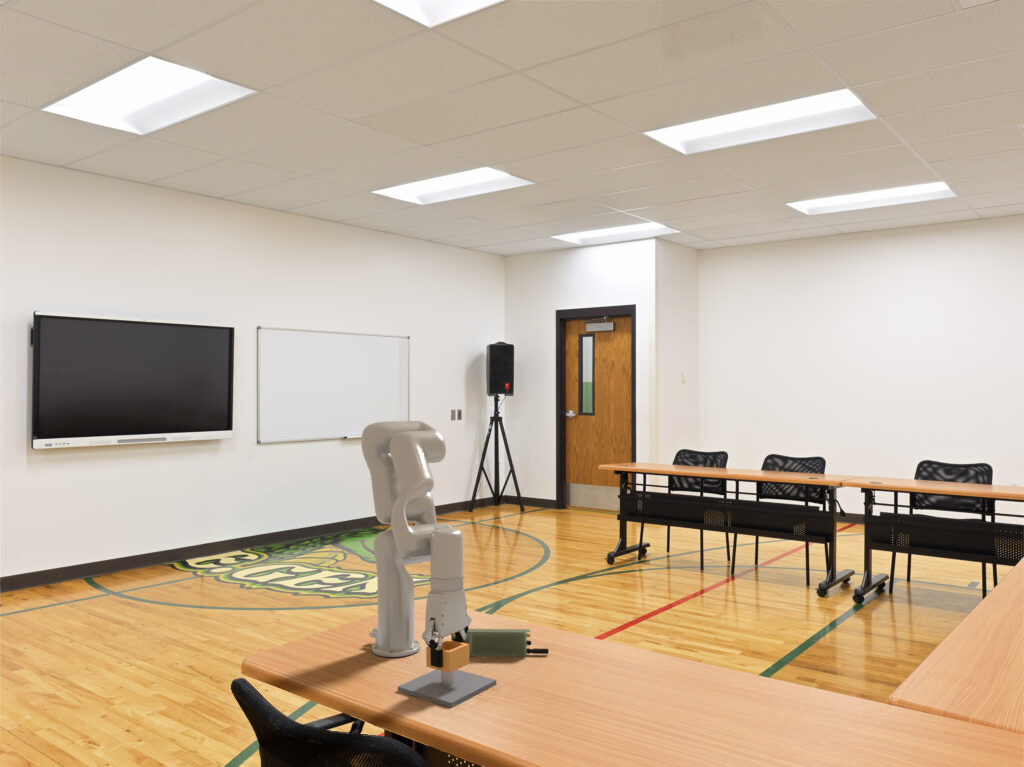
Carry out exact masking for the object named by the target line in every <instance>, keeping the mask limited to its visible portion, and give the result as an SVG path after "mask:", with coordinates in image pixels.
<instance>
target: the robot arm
mask: <svg viewBox="0 0 1024 767" xmlns="http://www.w3.org/2000/svg"><path fill="white" fill-rule="evenodd" d="M360 443H361V444H360V445H361V450H362V455H363V458H364V461H365V463H366V465H367V468H368V471H369V474H370V481H371V490H372V496H373V505H374V512H375V517H376V520H378V522H379V523H380V524H382V525H391V529H386V530H383V531H381V532H379V533H378V534H377V535H376V536H375V537H374V540H373V552H374V553H373V554H374V560H375V565H376V566H375V567H376V575H377V576H376V578H377V579H376V580H377V627H374V628H373V629H372V631H370V632H369V633H368V634H369V637H370V638H372V639H375V640H374V641H375V642H374V643H373V644H372V646H371V651H372V653H373V654H375V655H377V656H380V657H385V658H400V657H406V656H411V655H413V654H415V653H417V652H419V651H420V649H421V643H420V641H419V640H417V639H415V583H414V578H413V576H412V575H411V573H410V572H409V571H408V570H407V569H406V566H408V565H411V564H412V565H413V564H419V563H428V562H429V564H430V567H429V568H430V569H429V570H430V574H429V575H430V591H428V594H427V598H426V606H425V616H424V617H425V619H424V621H425V622H424V630H423V633H422V634H421V638H422V640H424V642H425V644H426V646H428V648H430V656H431V666H435V667H439V668H441V667H443V650H442V649H441V645H442V642H443V640H444V639H445V638H446V637H448V636H450V635H451V634H453V635H454V637H455V638H453V641H457V642H462V643H465V639H466V634H467V631H468V629H470V628H469V627H470V625H471V624H472V623H471V622H472V617H470V616H469V615H468V609H467V608H468V606H467V605H468V604H467V599H466V598H467V597H466V596H467V595H466V592H465V591H466V590H465V587H464V538H463V537H464V536H463V533H462V531H461V530H460V529H457V528H453V527H452V525H450V524H448V523H445V522H440V523H439V522H438V521H437V514H436V506H435V502H434V497H433V495H432V493H431V492H432V490H433V489H434V486H435V480H434V478H433V474H432V470H431V467H430V464H433V463H434V464H435V463H440V462H442V461H443V460H444V459H445V457H446V453H447V446H446V441H445V438H444V437H443V435H442V434H441V433H440V431H438V430H437V429H436V428H434V427H433V426H432V425H429V424H428V423H427V422H424V421H419V420H406V421H405V420H404V421H403V420H402V421H401V420H399V421H397V420H396V421H389V420H388V421H379V422H378V421H377V422H373V423H371V424H368V425H367V426H365V428H364V429H363V430H362V433H361V442H360ZM409 523H414V524H415V525H411V526H410V525H409ZM436 639H437V641H436Z"/></svg>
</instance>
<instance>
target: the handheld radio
mask: <svg viewBox="0 0 1024 767" xmlns="http://www.w3.org/2000/svg"><path fill="white" fill-rule="evenodd" d="M530 637H531V629H530V628H527V629H526V628H525V629H524V628H522V629H521V628H517V629H516V628H469V629H468V631H467V634H466V639H465V643H467V644H469V653H470V657H527V654H528V655H530V654H537V655H539V654H540V655H546V654H547V655H548V654H549V648H528V646H531V645H532V641H531V640H528V638H530ZM450 638H451V639H450V640H453V638H455V637H454V635H453V634H451V637H450Z"/></svg>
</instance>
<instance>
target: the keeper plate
mask: <svg viewBox="0 0 1024 767" xmlns="http://www.w3.org/2000/svg"><path fill="white" fill-rule="evenodd" d="M496 685H497V679H493V678H491V677H486V676H483V675H481V674H480V675H479V674H475V673H472V672H468V671H465V670H461V669H457V670H455V671H453V672H450V673H449V672H445V671H441V670H437V669H433V670H431V671H430V672H427V673H425V674H422V675H421V676H418V677H416V678H414V679H412V680H410V681H407V682H405V683H402V684H400V685H398V686H397V692H400V693H402V694H406V695H409V696H412V695H413V697H415V696H416V698H419V699H422V698H423V699H422V700H425V699H426V701H428V700H429V701H428V702H432V703H436V704H439V705H441V706H445V707H448V708H451V709H452V708H453V707H456V706H458V705H459V704H461V703H463V702H465V701H468V700H470V699H471V698H473V697H475V696H477V695H478V694H479V695H480V694H481V693H482V692H484V691H487V690H488V689H490V688H492V687H494V686H496Z"/></svg>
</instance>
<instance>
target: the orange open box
mask: <svg viewBox="0 0 1024 767" xmlns="http://www.w3.org/2000/svg"><path fill="white" fill-rule="evenodd" d="M441 649H442V650H443V667H441V668H439V667H435V666H431V656H430V648H428V645H426V648H425V651H426V652H425V653H426V656H425V657H426V660H425V661H426V662H425V663H426V664H425V665H426V667H427V668H430V669H433V670H436V669H437V670H441V671H445V672H449V673H450V672H453V671H455V670H460V669H461V668H463V667H466V666H467V665H470V663H471V662H470V658H471V656H470V653H469V644H467V643H462V642H457V641H453V640H451V639H448V638H446V639H445V638H444V639H443V642H442V645H441Z"/></svg>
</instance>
